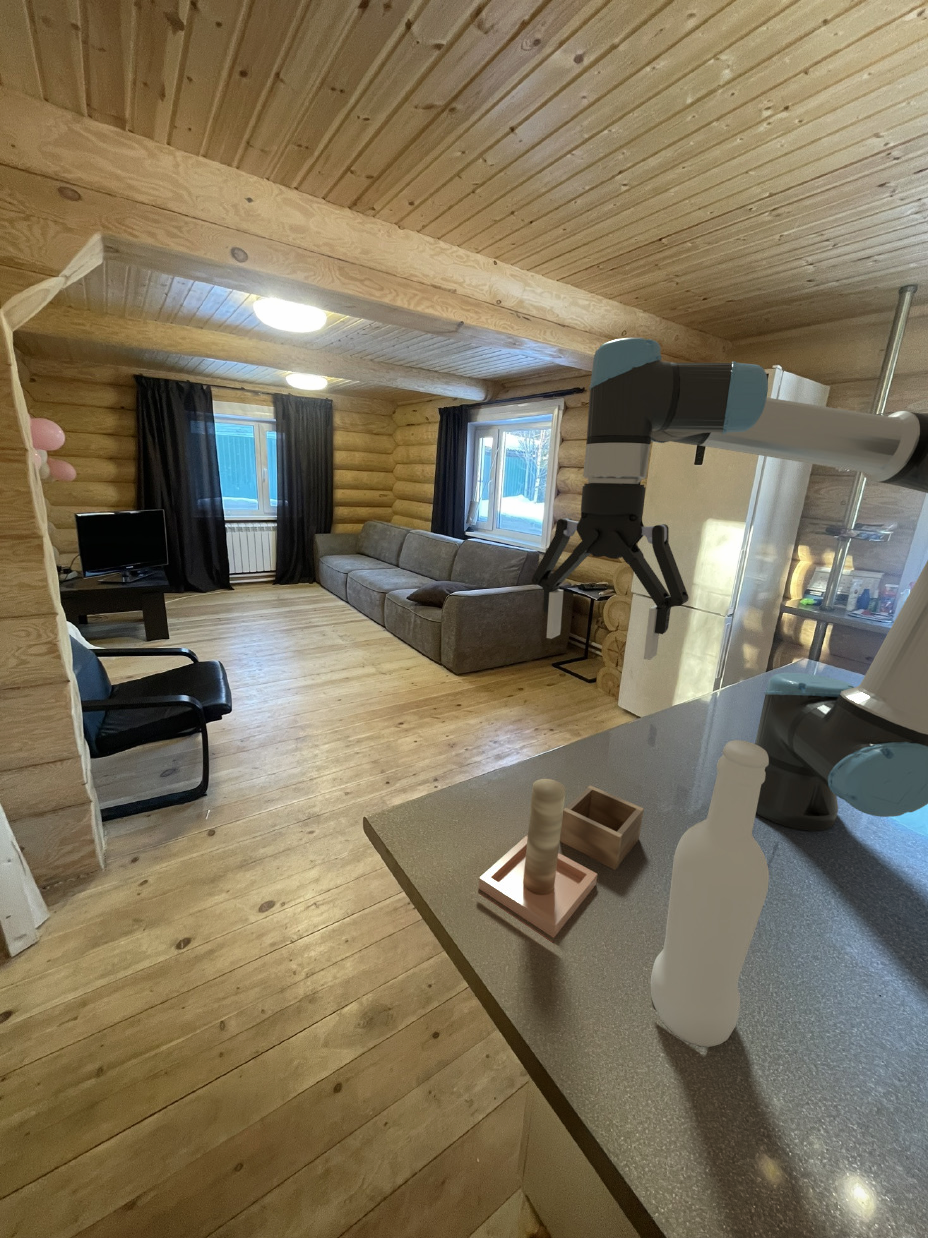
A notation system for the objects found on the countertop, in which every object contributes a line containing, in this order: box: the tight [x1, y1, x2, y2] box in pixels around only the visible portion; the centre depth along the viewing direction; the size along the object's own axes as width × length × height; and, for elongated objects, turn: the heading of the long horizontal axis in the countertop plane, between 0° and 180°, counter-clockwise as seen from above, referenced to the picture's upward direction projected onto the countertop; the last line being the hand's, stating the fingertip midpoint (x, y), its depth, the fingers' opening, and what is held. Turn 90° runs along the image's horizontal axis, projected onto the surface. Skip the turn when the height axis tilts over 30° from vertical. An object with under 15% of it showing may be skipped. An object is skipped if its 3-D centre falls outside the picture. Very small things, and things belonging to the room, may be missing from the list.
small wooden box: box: [559, 785, 645, 871], centre depth 75 cm, size 9×9×6 cm
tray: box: [477, 834, 598, 944], centre depth 66 cm, size 11×11×2 cm
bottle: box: [650, 739, 770, 1048], centre depth 49 cm, size 8×8×30 cm
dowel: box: [523, 778, 567, 895], centre depth 65 cm, size 4×4×14 cm
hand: (599, 646), depth 69 cm, fingers open, 13 cm apart
